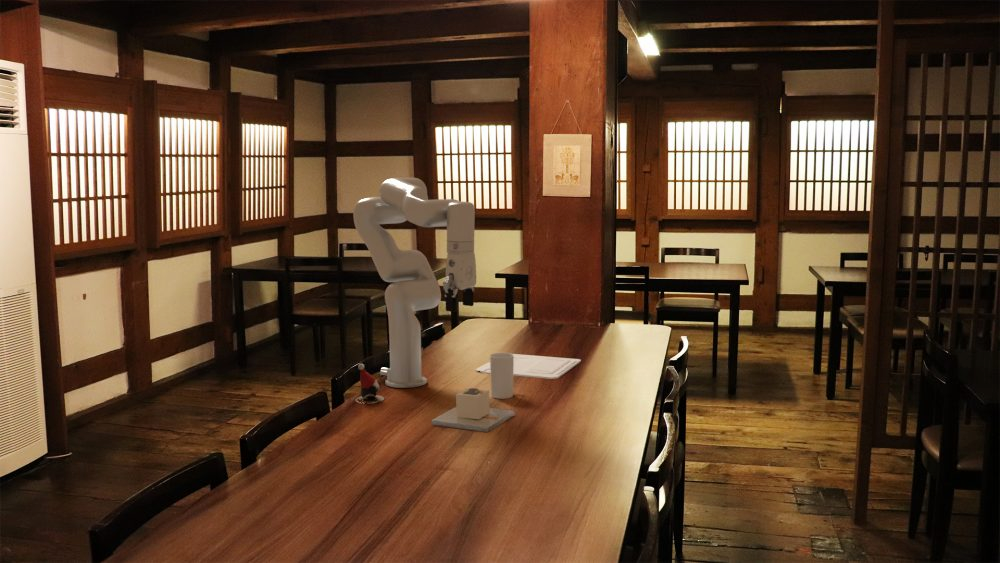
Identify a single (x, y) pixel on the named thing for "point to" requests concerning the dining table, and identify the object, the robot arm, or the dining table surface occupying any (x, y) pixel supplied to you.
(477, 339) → the dining table surface
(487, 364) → the tray
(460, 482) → the dining table surface
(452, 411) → the square peg base
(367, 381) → the figurine
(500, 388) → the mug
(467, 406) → the hollow square tube
